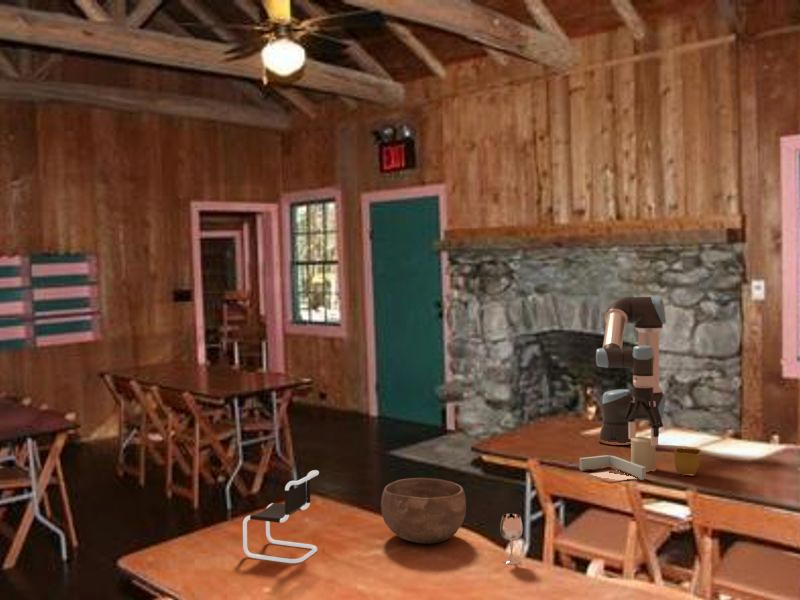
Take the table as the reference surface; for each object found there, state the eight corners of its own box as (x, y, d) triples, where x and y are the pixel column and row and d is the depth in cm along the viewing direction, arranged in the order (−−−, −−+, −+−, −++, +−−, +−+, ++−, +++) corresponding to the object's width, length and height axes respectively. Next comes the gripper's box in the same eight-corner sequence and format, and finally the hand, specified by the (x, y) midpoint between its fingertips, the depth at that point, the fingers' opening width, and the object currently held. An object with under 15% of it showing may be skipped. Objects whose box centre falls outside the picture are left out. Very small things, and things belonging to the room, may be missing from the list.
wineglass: (498, 557, 211) (498, 513, 211) (519, 557, 212) (519, 512, 211) (503, 565, 206) (502, 520, 205) (525, 565, 206) (524, 519, 206)
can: (626, 469, 304) (626, 438, 304) (637, 465, 311) (637, 434, 311) (649, 473, 298) (649, 441, 298) (659, 469, 305) (659, 437, 304)
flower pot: (701, 473, 298) (701, 449, 298) (699, 478, 290) (699, 454, 290) (676, 470, 302) (676, 447, 301) (673, 476, 294) (673, 452, 293)
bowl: (439, 560, 210) (439, 503, 210) (364, 544, 223) (363, 491, 223) (480, 534, 231) (479, 483, 230) (409, 521, 244) (408, 472, 243)
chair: (299, 565, 208) (298, 481, 207) (242, 557, 214) (241, 476, 213) (322, 549, 220) (321, 470, 219) (267, 541, 226) (266, 465, 225)
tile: (616, 472, 300) (616, 470, 300) (636, 479, 289) (636, 478, 289) (589, 475, 296) (589, 473, 296) (608, 483, 285) (608, 481, 285)
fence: (610, 466, 310) (610, 454, 309) (645, 479, 289) (645, 467, 289) (579, 469, 305) (579, 458, 305) (612, 483, 284) (612, 471, 284)
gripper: (615, 383, 314) (615, 436, 314) (656, 390, 290) (656, 448, 291) (631, 382, 316) (631, 435, 317) (672, 389, 293) (672, 447, 293)
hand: (643, 441), depth 304 cm, fingers open, 13 cm apart
